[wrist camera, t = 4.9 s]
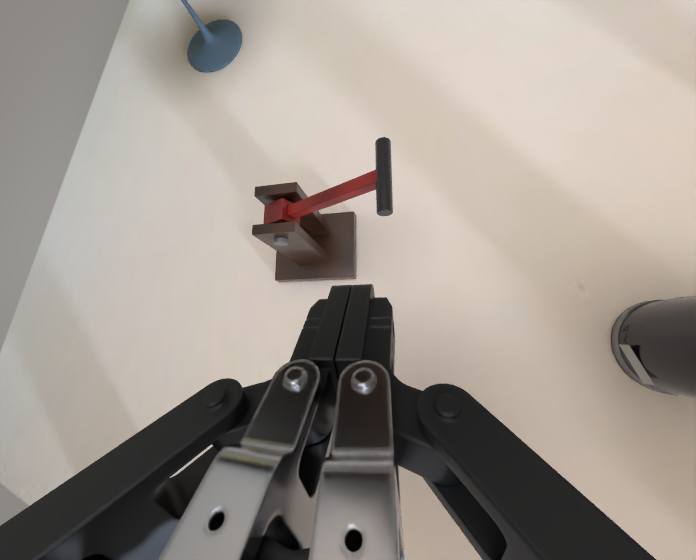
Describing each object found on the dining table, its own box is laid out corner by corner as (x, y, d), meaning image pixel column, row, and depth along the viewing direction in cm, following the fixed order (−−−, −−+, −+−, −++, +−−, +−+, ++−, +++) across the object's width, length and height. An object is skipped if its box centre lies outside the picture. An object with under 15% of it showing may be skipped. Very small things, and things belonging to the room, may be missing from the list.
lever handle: (397, 146, 24) (381, 130, 22) (399, 216, 23) (383, 205, 21) (283, 196, 32) (265, 188, 30) (281, 249, 31) (262, 243, 29)
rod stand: (355, 215, 41) (330, 158, 28) (356, 278, 39) (329, 250, 26) (281, 221, 43) (226, 172, 30) (279, 282, 41) (219, 256, 28)
